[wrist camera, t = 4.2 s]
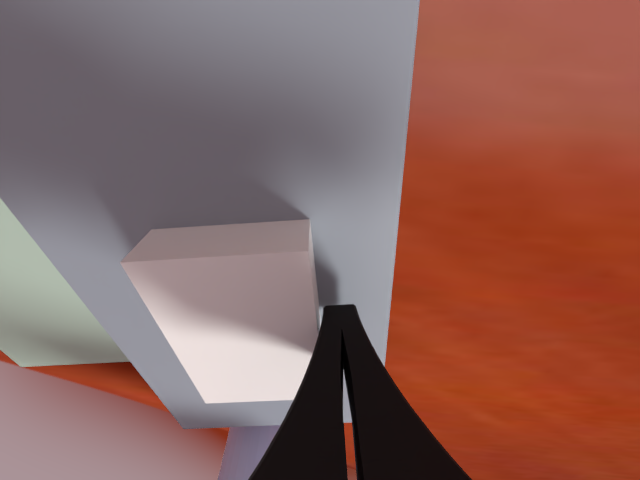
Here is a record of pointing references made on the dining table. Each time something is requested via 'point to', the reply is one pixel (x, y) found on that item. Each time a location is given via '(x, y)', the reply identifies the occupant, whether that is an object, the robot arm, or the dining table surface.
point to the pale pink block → (233, 304)
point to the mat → (44, 308)
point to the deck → (207, 149)
